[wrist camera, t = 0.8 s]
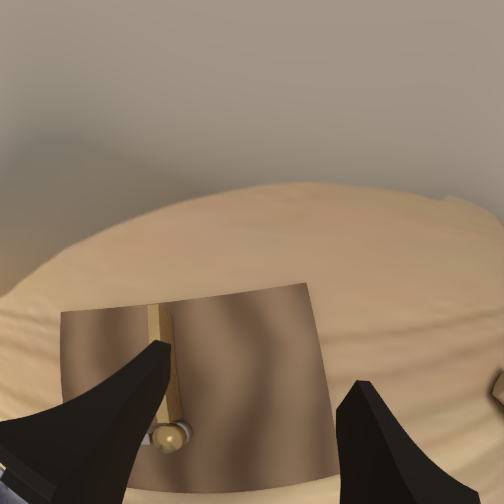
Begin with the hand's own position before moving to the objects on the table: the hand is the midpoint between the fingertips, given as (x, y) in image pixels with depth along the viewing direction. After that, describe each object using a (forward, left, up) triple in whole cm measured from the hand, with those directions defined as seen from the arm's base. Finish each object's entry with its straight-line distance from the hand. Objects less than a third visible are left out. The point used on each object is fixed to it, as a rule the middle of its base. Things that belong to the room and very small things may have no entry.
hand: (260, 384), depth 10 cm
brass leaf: (-5, +6, -15) cm, 17 cm away
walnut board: (-7, +5, -16) cm, 18 cm away
